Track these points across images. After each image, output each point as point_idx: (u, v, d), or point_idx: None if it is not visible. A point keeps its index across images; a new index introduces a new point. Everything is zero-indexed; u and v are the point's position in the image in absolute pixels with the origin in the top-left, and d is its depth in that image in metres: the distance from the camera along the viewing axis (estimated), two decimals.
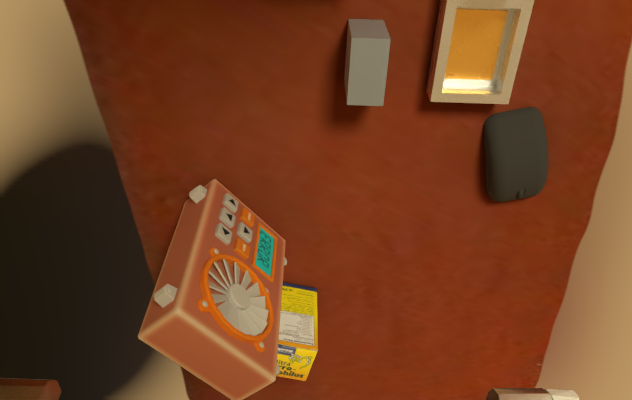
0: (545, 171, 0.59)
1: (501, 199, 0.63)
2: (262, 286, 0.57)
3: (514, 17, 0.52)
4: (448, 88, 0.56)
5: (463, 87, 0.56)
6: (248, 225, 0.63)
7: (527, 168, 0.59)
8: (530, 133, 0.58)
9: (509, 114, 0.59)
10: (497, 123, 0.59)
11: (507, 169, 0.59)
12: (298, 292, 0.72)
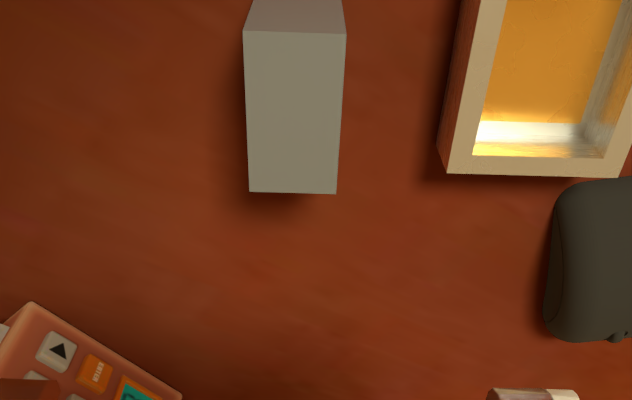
0: None
1: (575, 342, 0.32)
2: None
3: None
4: (486, 143, 0.26)
5: (518, 139, 0.26)
6: (94, 392, 0.33)
7: None
8: None
9: (613, 186, 0.28)
10: (588, 204, 0.28)
11: (602, 299, 0.29)
12: None
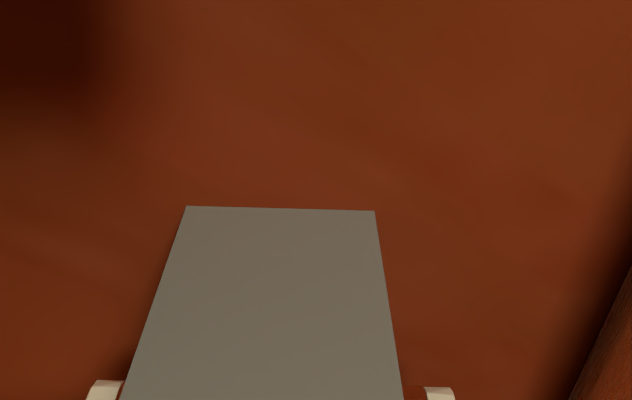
0: None
1: None
2: None
3: None
4: None
5: None
6: None
7: None
8: None
9: None
10: None
11: None
12: None
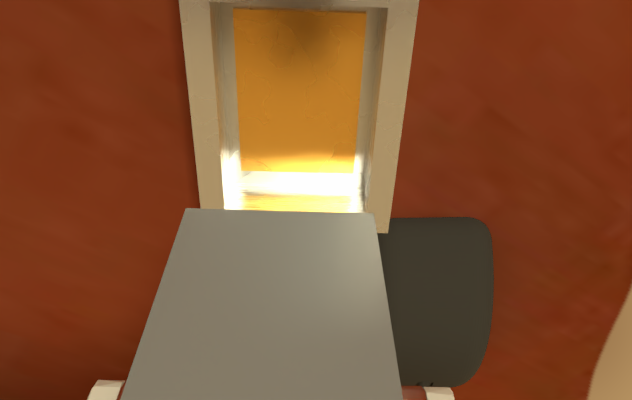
0: (479, 358, 0.27)
1: None
2: None
3: (380, 32, 0.20)
4: (250, 195, 0.24)
5: (287, 191, 0.24)
6: None
7: (442, 349, 0.27)
8: (460, 279, 0.26)
9: (423, 226, 0.26)
10: (393, 243, 0.26)
11: (400, 347, 0.26)
12: None
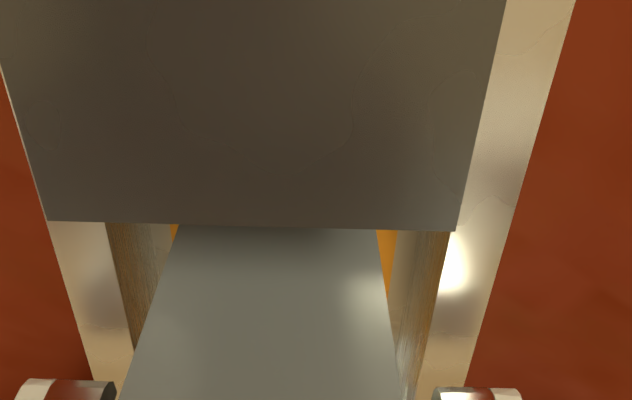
0: None
1: None
2: None
3: None
4: None
5: None
6: None
7: None
8: None
9: None
10: None
11: None
12: None
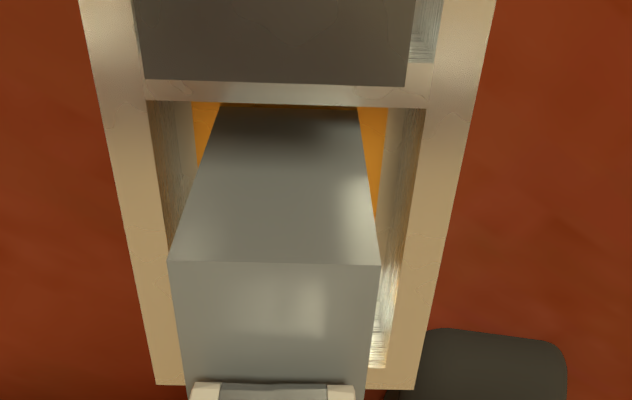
0: None
1: None
2: None
3: (410, 132, 0.13)
4: None
5: None
6: None
7: None
8: None
9: (488, 348, 0.19)
10: (447, 366, 0.19)
11: None
12: None
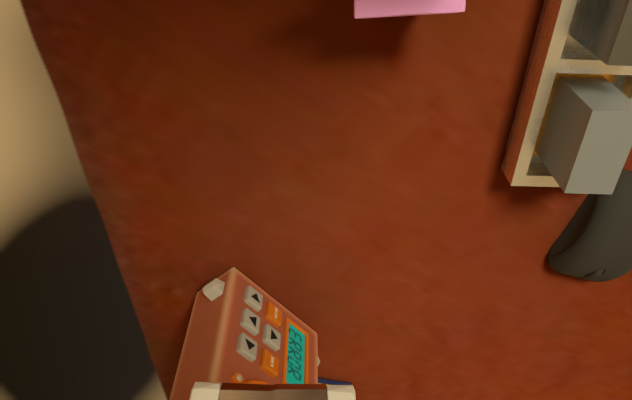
0: None
1: (568, 271, 0.49)
2: None
3: (625, 84, 0.40)
4: (533, 168, 0.44)
5: None
6: (275, 325, 0.52)
7: (628, 249, 0.46)
8: None
9: None
10: (623, 182, 0.45)
11: (608, 241, 0.46)
12: None
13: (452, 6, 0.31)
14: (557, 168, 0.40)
